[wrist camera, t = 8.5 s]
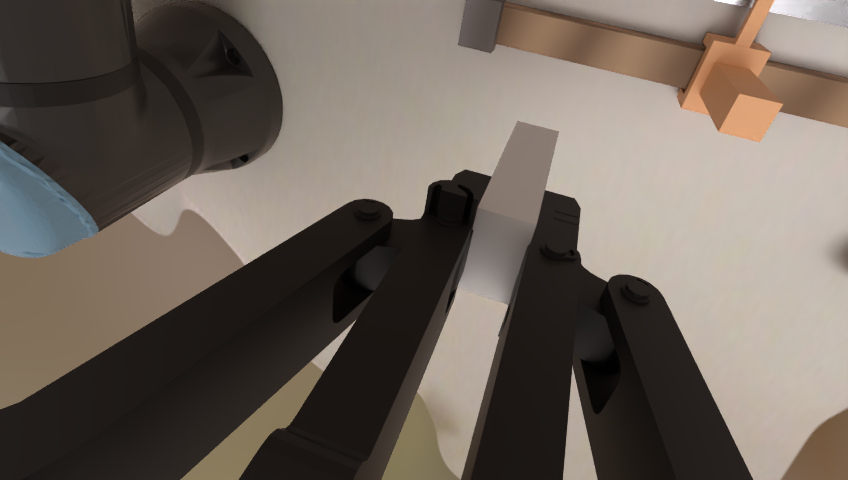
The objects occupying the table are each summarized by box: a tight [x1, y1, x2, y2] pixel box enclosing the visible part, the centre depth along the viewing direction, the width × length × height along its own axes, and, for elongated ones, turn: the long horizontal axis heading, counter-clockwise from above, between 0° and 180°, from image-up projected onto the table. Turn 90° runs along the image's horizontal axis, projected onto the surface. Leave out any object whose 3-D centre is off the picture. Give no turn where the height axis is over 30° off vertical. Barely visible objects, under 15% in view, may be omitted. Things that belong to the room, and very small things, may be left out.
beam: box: [458, 0, 848, 128], centre depth 29 cm, size 28×10×3 cm, turn 84°
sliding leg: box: [677, 0, 783, 142], centre depth 25 cm, size 3×10×10 cm, turn 174°
